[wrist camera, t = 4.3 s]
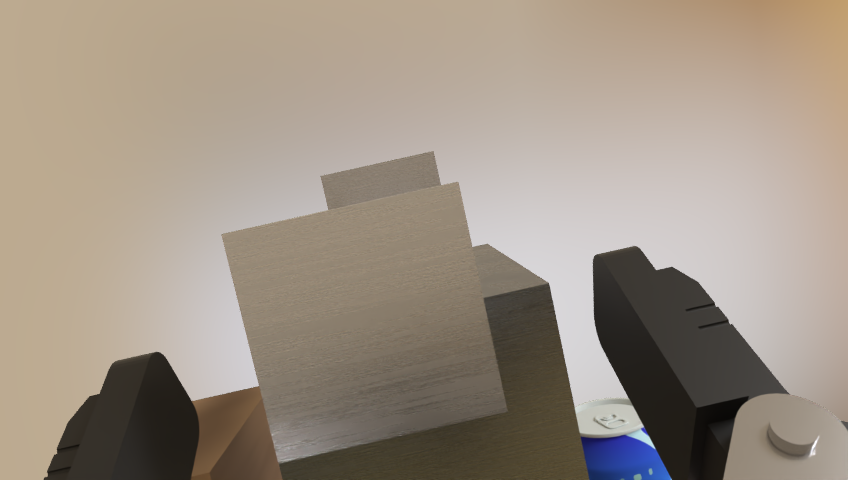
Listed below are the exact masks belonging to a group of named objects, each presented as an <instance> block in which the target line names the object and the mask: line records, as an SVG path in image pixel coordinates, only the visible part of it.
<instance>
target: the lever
mask: <svg viewBox="0 0 848 480" xmlns="http://www.w3.org/2000/svg"><path fill="white" fill-rule="evenodd" d="M321 180H322V183H323V188H324V193H325V197H326V201H327V206H328V210H327V211H323V212H318V213H314V214H310V215H305V216H300V217H296V218H292V219H287V220H283V221H278V222H274V223H270V224H265V225H261V226H256V227H252V228H247V229H243V230H238V231H234V232H230V233H225V234H222V238H223V242H224V247H225V251H226V254H227V259H228V262H229V266H230V271H231V275H232V278H233V283H234V287H235V291H236V295H237V299H238V303H239V307H240V311H241V315H242V319H243V323H244V327H245V331H246V335H247V339H248V343H249V347H250V351H251V355H252V359H253V363H254V367H255V371H256V375H257V379H258V383H259V387H260V391H261V395H262V399H263V403H264V407H265V411H266V415H267V419H268V423H269V427H270V431H271V436H272V440H273V444H274V448H275V452H276V456H277V460H278V463H283V462H287V461H291V460H296V459H300V458H305V457H309V456H314V455H318V454H322V453H327V452H331V451H336V450H340V449H345V448H349V447H353V446H358V445H362V444H367V443H371V442H376V441H380V440H384V439H389V438H393V437H398V436H402V435H407V434H411V433H415V432H420V431H424V430H429V429H433V428H438V427H442V426H446V425H451V424H455V423H460V422H464V421H469V420H473V419H477V418H482V417H486V416H491V415H495V414H500V413H504V412H508V411H507V406H506V401H505V397H504V392H503V387H502V383H501V378H500V373H499V369H498V364H497V359H496V355H495V350H494V346H493V341H492V336H491V332H490V327H489V322H488V318H487V313H486V308H485V304H484V299H483V294H482V290H481V285H480V281H479V276H478V271H477V267H476V262H475V257H474V253H473V248H472V243H471V239H470V234H469V230H468V225H467V220H466V216H465V211H464V206H463V202H462V197H461V192H460V188H459V183H458V182H455V183H450V184H445V185H441V184H440V179H439V175H438V170H437V165H436V161H435V156H434V152H433V151H432V152H428V153H423V154H419V155H415V156H410V157H405V158H401V159H396V160H392V161H387V162H383V163H378V164H374V165H370V166H365V167H360V168H356V169H351V170H346V171H342V172H337V173H333V174H329V175H324V176H321Z"/></svg>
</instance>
